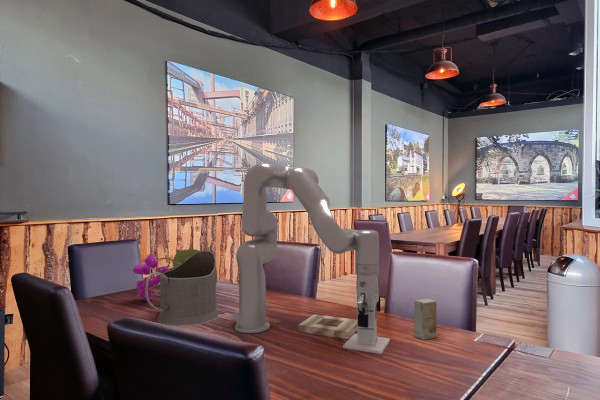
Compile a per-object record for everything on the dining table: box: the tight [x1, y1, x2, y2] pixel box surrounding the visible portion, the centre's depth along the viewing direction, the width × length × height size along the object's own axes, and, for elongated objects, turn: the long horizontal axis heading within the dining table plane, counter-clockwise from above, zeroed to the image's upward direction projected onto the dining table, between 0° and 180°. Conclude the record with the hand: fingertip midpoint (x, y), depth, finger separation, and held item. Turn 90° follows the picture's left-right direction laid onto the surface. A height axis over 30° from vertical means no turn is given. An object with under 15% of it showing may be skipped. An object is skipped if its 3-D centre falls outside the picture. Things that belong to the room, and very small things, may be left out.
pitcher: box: [145, 250, 220, 327], centre depth 153 cm, size 23×32×25 cm
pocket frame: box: [298, 313, 357, 340], centre depth 141 cm, size 18×14×2 cm
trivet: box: [342, 333, 391, 355], centre depth 126 cm, size 12×12×1 cm
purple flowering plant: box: [132, 248, 218, 302], centre depth 186 cm, size 30×28×35 cm
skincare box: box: [413, 298, 437, 340], centre depth 133 cm, size 6×4×12 cm
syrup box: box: [356, 299, 378, 345], centre depth 126 cm, size 6×6×14 cm
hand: (367, 322), depth 126 cm, fingers open, 9 cm apart
